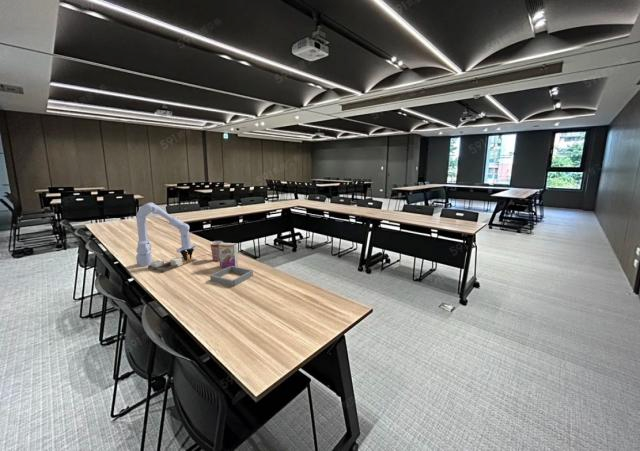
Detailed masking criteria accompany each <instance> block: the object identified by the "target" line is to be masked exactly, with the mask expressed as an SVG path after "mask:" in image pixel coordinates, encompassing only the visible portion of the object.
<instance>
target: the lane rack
mask: <svg viewBox="0 0 640 451" xmlns="http://www.w3.org/2000/svg"><path fill="white" fill-rule="evenodd" d="M180 258H182V262H183V261H185V260H184V258H183V256H182V257H180ZM161 261H162V262H163V265H161V266H158V267H153V266H151V265H149V266H147V268H148V270H151V271H155V272H159V273H167V272H168V271H171V270H174V269H177V268H180V267H182V266H186V265H188V264H190V263H193V262H196V261H197V259H195V258H191V259H190V261H189V262H185V263H182V264H183V265H180V266H178V264H176V265H173V266H171V260H169V261H167V262H165V261H164V260H161Z"/></svg>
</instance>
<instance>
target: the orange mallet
mask: <svg viewBox="0 0 640 451" xmlns="http://www.w3.org/2000/svg"><path fill="white" fill-rule="evenodd" d="M169 261H171V266H173V265H176V264H178V266H180V265H183V264H182V263H185V262H189V261H190V254H188V253H187V260H185V261H183V262H182V258H181V257H178V256H177V257H173V258H171V259H170V260H169ZM183 266H184V265H183ZM180 267H181V266H180Z"/></svg>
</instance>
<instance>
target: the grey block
mask: <svg viewBox="0 0 640 451" xmlns="http://www.w3.org/2000/svg"><path fill="white" fill-rule="evenodd" d="M162 261H163V260H156V261H152V263H151V266H153V267H158V266H161V265H163V262H162Z"/></svg>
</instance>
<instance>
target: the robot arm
mask: <svg viewBox="0 0 640 451" xmlns="http://www.w3.org/2000/svg"><path fill="white" fill-rule="evenodd" d="M151 213H152V215H160V216H161V217H162V218H164V219H165V220H167V221H168V223H169V224H170V225H171V226H173V227H174V228H175V229H177V230H178V231H179V233H180V242H181V247H179V248H177V249H176V253H180V254H181V256H182V257H183V258H184V260H187V254H190V259H192V257H193V252H194V251H195V248H196V247H197V244H195V243H194V244H191V236H190V225H189V224H188V223H185V222H184V221H182V220H181V219H180V218H179V217H176V216H172V215H171V214H169V213H168V212H166V211H165V210H164V209H163V208H161V207H160V206H159V205H157V204H156V203H154V202H151V201H150V202H147V203H145V204H143V205H141V206H140V207H139V209H138V211H137V213H136V215H135V217H136V218H135V219H136V225H137V234H138V236H137V237H138V242H137V248H136V253H137V254H136V256H135V258H136V259H135V260H136V265H137V266H140V267H148V266H149V265H151V263H152V262H153V258H152V252H151V249H152V245H151V242H150V240H149V237H148V227H147V216H149V215H150V214H151Z"/></svg>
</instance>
